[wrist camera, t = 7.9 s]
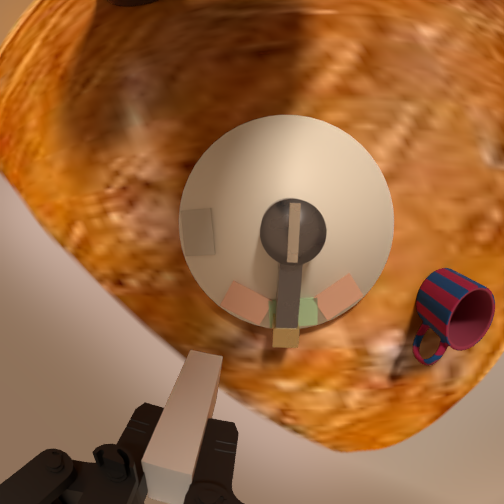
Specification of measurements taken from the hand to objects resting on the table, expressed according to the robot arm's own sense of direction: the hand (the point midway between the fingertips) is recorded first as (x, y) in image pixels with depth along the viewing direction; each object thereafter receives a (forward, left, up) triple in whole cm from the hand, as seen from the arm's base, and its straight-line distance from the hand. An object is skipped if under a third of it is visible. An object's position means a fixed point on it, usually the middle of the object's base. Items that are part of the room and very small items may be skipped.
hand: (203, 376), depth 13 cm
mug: (+5, +21, -17) cm, 27 cm away
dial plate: (-5, +5, -16) cm, 18 cm away
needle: (-1, +5, -15) cm, 15 cm away
